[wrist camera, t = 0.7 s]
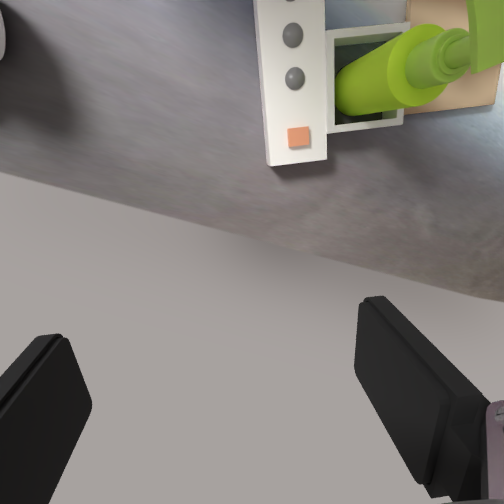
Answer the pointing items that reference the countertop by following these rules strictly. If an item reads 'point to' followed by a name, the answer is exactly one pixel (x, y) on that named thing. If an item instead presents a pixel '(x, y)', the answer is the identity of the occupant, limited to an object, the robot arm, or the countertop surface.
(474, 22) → the soap dispenser
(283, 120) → the white holder tray
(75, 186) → the countertop surface
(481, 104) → the oak board
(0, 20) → the spread jar
